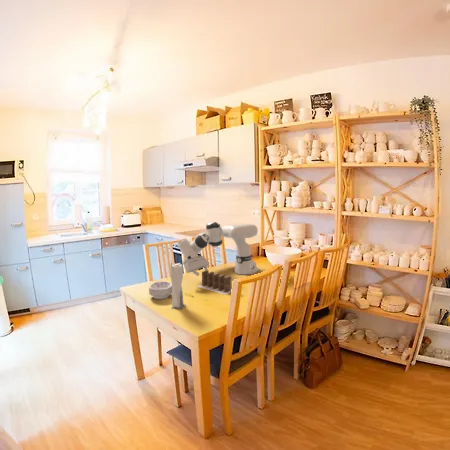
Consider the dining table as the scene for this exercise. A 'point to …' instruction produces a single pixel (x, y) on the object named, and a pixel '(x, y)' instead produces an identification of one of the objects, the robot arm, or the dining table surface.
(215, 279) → the domino
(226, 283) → the domino
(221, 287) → the domino
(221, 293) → the board
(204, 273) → the domino
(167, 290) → the paper bowls
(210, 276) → the domino
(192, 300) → the dining table surface
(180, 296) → the skyscraper
